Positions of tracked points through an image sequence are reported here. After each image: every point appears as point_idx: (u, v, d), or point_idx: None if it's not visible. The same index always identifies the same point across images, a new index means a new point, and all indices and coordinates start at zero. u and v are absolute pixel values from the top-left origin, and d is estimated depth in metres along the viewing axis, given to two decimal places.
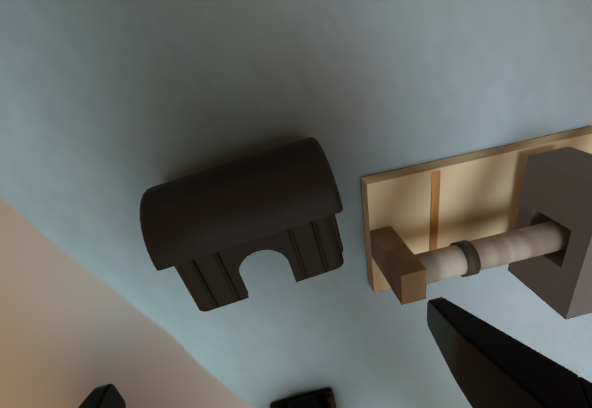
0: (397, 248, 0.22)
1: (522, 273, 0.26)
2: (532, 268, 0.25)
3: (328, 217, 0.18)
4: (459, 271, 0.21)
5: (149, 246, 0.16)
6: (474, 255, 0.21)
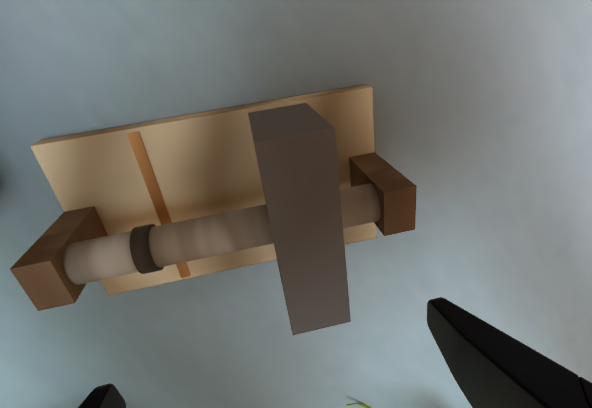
0: (59, 233, 0.16)
1: None
2: None
3: None
4: (122, 266, 0.15)
5: None
6: (141, 243, 0.15)
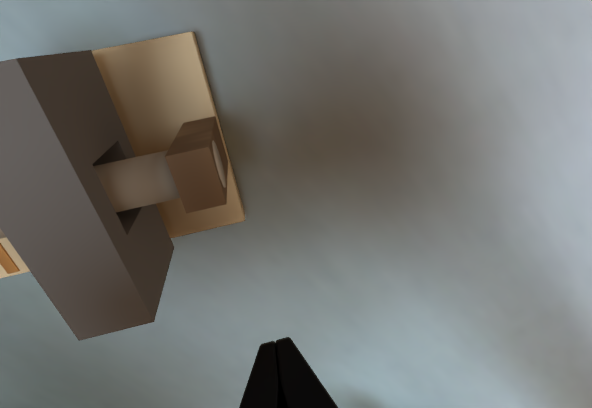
0: None
1: None
2: None
3: None
4: None
5: None
6: None
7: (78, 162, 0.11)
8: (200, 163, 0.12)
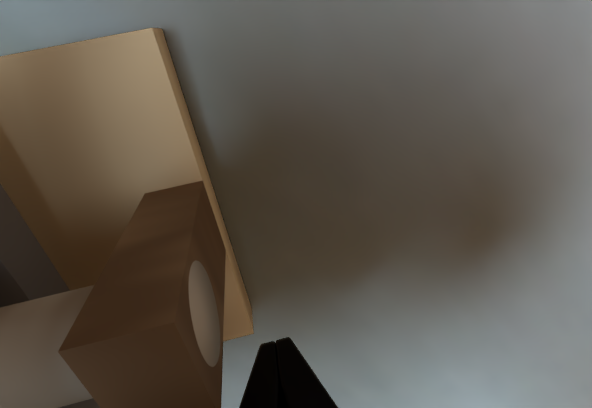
0: None
1: None
2: None
3: None
4: None
5: None
6: None
7: None
8: (154, 356, 0.05)
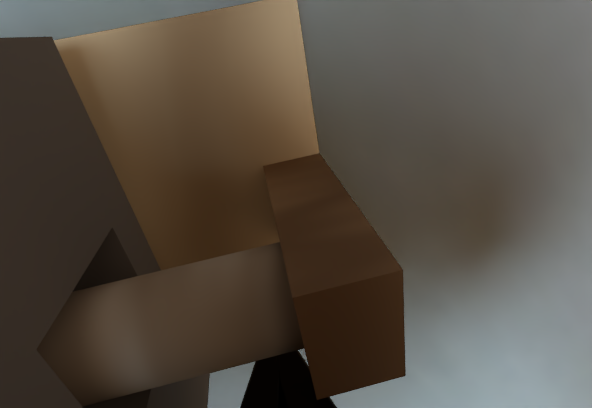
0: None
1: None
2: None
3: None
4: None
5: None
6: None
7: None
8: (373, 305, 0.05)
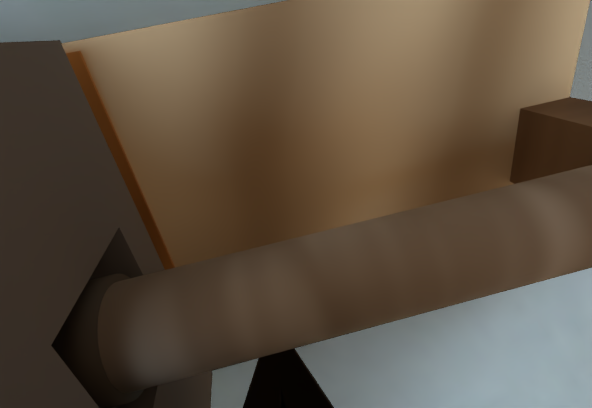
0: None
1: None
2: None
3: None
4: None
5: None
6: (75, 344, 0.05)
7: None
8: None
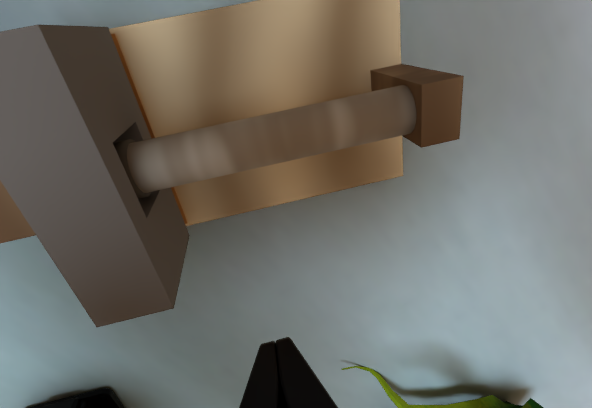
0: None
1: None
2: None
3: None
4: None
5: None
6: None
7: (99, 139, 0.10)
8: (450, 93, 0.12)
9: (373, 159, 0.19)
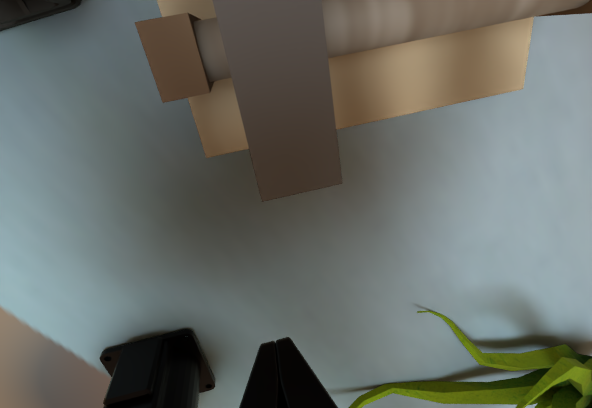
0: None
1: None
2: None
3: None
4: None
5: None
6: None
7: None
8: None
9: (497, 67, 0.18)
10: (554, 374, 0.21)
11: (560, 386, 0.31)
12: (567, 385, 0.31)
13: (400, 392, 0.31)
